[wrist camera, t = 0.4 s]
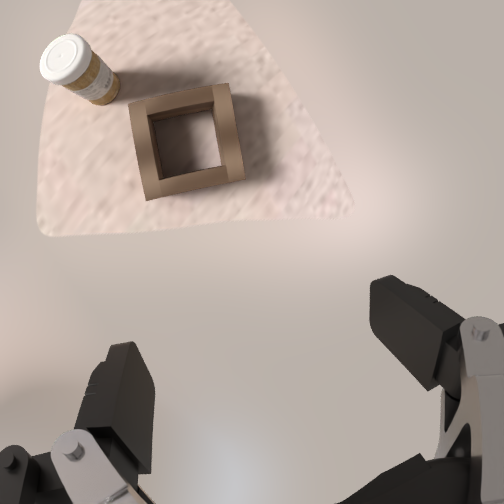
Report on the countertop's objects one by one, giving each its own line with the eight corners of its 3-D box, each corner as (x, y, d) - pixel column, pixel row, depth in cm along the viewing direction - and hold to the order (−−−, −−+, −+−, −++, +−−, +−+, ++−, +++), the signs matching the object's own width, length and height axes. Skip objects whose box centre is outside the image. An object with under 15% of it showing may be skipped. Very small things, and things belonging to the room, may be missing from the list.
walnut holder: (136, 111, 30) (128, 104, 26) (223, 93, 32) (228, 82, 27) (152, 195, 34) (146, 201, 29) (238, 177, 35) (245, 179, 30)
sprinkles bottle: (96, 68, 27) (54, 29, 15) (127, 77, 29) (95, 36, 16) (81, 101, 28) (29, 76, 16) (111, 110, 30) (68, 85, 17)
